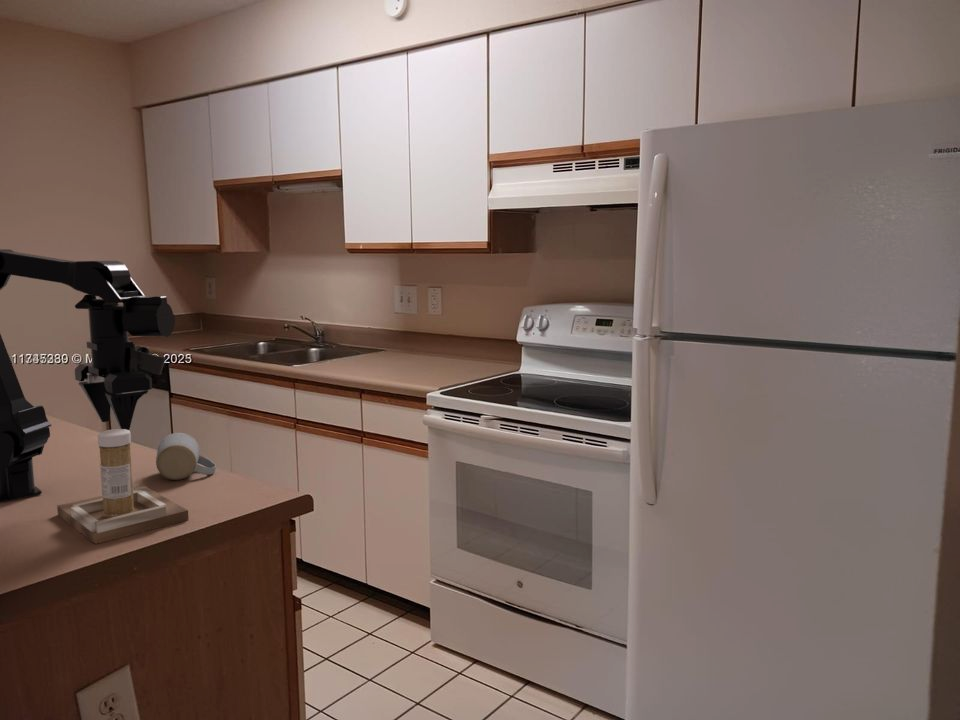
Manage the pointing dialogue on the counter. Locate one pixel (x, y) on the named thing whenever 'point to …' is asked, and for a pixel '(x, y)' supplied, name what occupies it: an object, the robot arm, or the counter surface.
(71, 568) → the counter surface
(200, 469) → the ceramic mug
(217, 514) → the counter surface
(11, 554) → the counter surface
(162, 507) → the socket board
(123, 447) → the sprinkles bottle
